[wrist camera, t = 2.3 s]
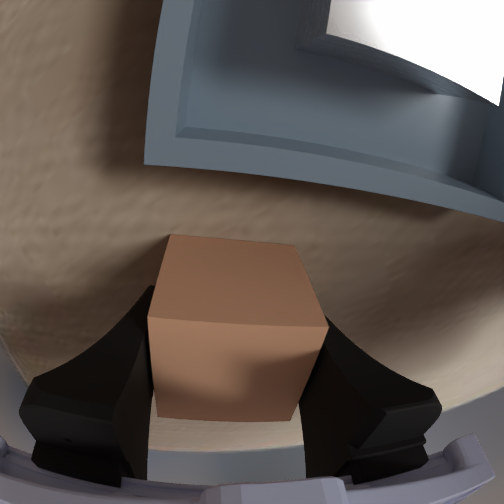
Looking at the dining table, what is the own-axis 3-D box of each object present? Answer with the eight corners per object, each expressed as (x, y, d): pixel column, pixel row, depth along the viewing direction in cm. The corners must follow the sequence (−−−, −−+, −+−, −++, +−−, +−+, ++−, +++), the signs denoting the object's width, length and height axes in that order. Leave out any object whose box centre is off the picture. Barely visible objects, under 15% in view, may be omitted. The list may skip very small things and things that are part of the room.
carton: (294, 245, 13) (329, 327, 9) (272, 335, 16) (289, 420, 11) (170, 234, 12) (147, 316, 8) (169, 329, 15) (157, 416, 10)
